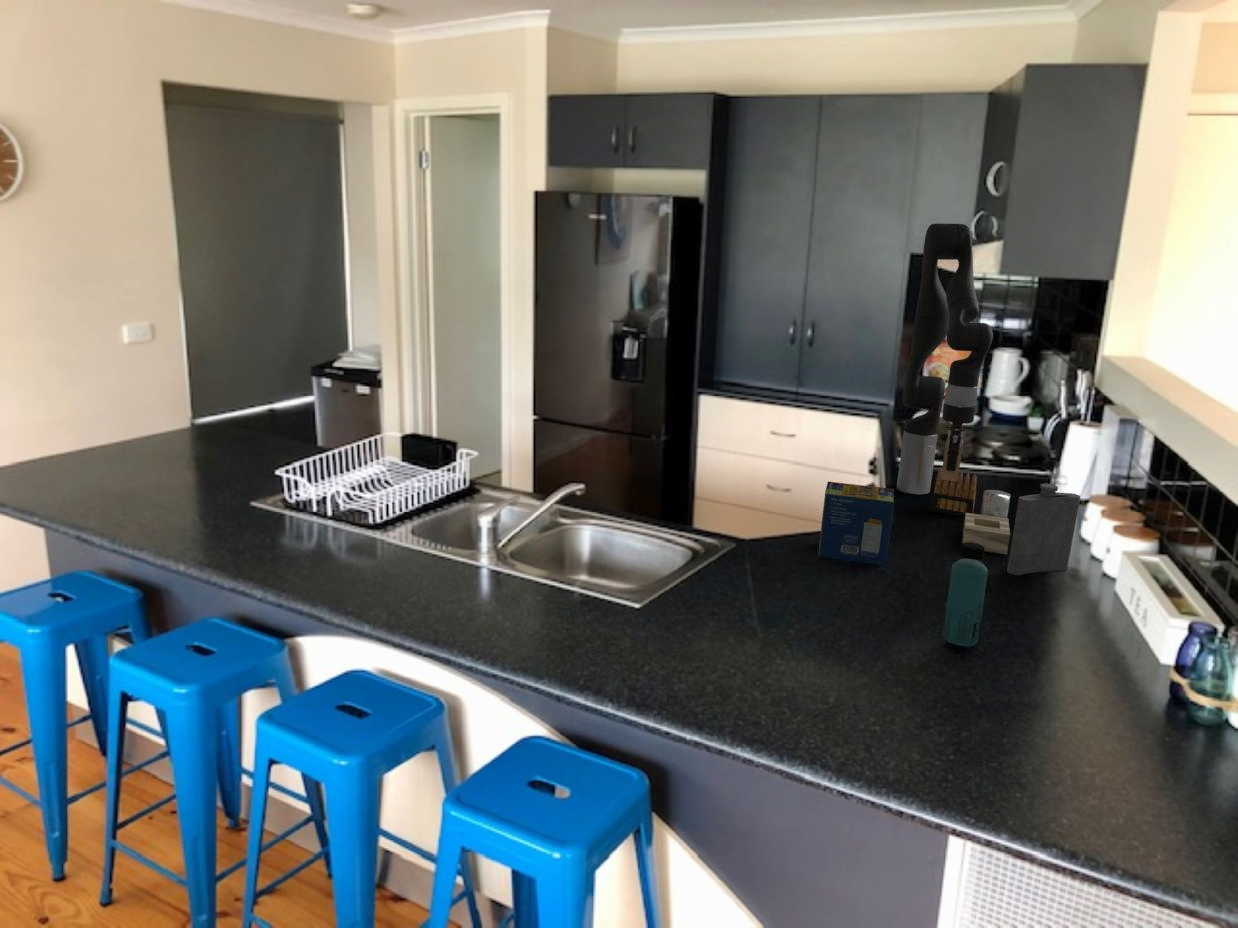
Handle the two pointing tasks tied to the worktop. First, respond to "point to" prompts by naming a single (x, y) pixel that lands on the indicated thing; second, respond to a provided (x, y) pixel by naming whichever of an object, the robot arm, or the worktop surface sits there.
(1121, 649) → the worktop surface
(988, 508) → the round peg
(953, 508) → the ammunition clip
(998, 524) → the socket block
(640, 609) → the worktop surface
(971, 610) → the beverage bottle
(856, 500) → the protein box
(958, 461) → the square peg
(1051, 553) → the hip flask
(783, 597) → the worktop surface
